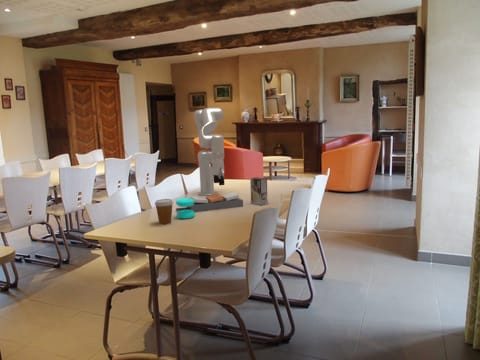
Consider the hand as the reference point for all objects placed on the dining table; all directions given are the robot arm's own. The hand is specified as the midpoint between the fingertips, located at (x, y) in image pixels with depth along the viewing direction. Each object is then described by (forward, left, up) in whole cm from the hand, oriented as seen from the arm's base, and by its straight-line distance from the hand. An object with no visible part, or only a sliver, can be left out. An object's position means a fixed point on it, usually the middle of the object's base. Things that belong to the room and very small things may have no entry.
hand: (219, 184), depth 244 cm
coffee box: (+4, +25, -14) cm, 29 cm away
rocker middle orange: (0, -3, -9) cm, 10 cm away
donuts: (+15, -25, -14) cm, 33 cm away
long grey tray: (0, -7, -14) cm, 16 cm away
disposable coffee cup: (+22, -38, -14) cm, 46 cm away
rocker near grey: (0, -13, -9) cm, 16 cm away
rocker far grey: (0, +7, -9) cm, 12 cm away
